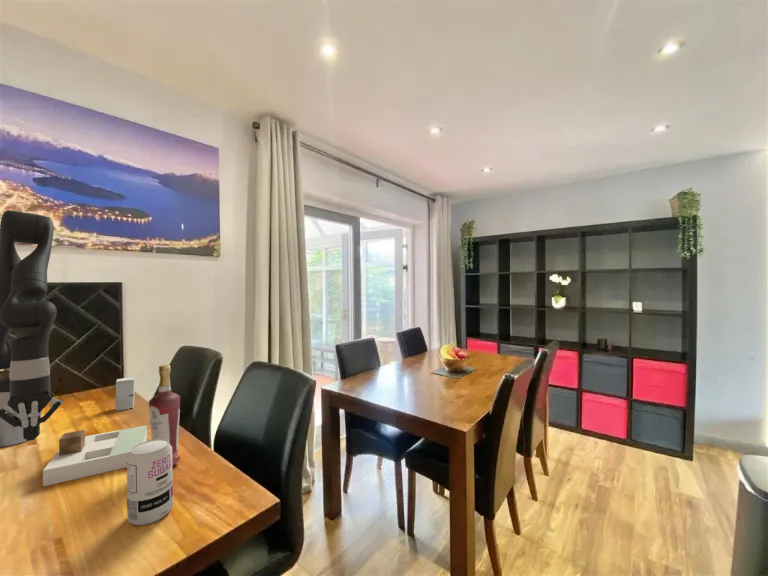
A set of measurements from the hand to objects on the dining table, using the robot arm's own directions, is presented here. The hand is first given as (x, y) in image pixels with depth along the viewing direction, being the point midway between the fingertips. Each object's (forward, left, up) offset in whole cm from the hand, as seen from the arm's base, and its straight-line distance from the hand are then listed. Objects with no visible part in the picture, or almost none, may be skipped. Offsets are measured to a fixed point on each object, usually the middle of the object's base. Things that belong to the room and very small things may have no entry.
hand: (31, 439), depth 90 cm
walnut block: (+8, 0, -5) cm, 10 cm away
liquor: (+31, -15, -9) cm, 35 cm away
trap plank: (+15, 0, -9) cm, 17 cm away
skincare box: (+15, +48, -9) cm, 51 cm away
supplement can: (+29, -37, -9) cm, 48 cm away
